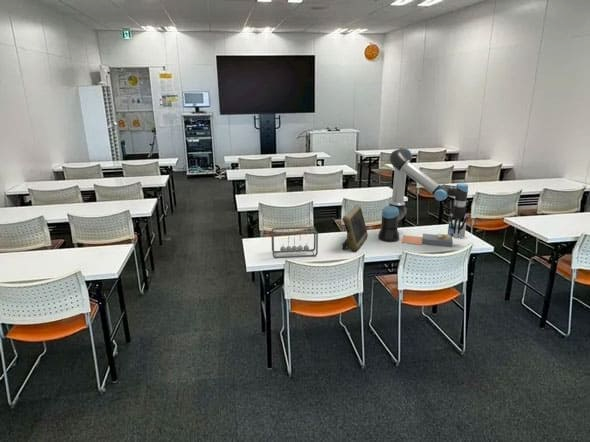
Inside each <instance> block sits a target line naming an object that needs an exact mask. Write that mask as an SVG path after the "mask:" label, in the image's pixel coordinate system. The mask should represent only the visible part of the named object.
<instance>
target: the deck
mask: <svg viewBox="0 0 590 442" xmlns="http://www.w3.org/2000/svg"><path fill="white" fill-rule="evenodd" d="M437 235H438V234H432V233H422V245H426V246H437V247H445V248H453V242H454V241H453V237H452V236H450V240H443V239H437Z"/></svg>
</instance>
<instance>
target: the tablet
mask: <svg viewBox="0 0 590 442" xmlns="http://www.w3.org/2000/svg"><path fill="white" fill-rule="evenodd" d="M342 222H343V224H344V228H345V230H346V239H345V240H344V242H343V243H342V244H341V245H342V248H341V249H342V250H343V251H346V250H347V248H349V250H350V252H352V253H356V252H358V251H359V250H360V249H361V247H362V246H363V244H364V243H365V241H366V240H367V238H368V235H369V234H368V230H367V225H366V222H365V217H364V213H363V210H362V207H361V206H360V205H359V204H355V205H354V206H353V208H352V209H351V210H350V211H349V212H348V213H346V214H345V215H344V216H343V217H342Z"/></svg>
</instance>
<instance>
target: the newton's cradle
mask: <svg viewBox="0 0 590 442" xmlns="http://www.w3.org/2000/svg"><path fill="white" fill-rule="evenodd" d="M309 229H310V230H309ZM311 229H312V230H311ZM285 230H286V231H285ZM290 230H294V231H290ZM295 230H299V231H295ZM301 230H302V231H301ZM277 231H278V232H277ZM281 231H282V232H281ZM270 233H271V252H272V257H273V258H274V259H287V258H290V259H291V258H306V257H316V256H317V255H318V252H319V249H318V248H319V247H318V246H319V233H318V231H317V230H316V227H315V226H294V227H293V226H291V227H288V226H287V227H273V228H272V229H271V231H270ZM296 234H299V240H302V239H301V237H302V236H301V235H302V234H313V248H311V249H310V247H309V245H307V244H305V245H298V246H296V245H295V244H296V243H295V242H296V238H293V242H294V243H293V244H294V245H292V247H291V246H290V245H288V246H286V247H285V246H284V245H282V246H280V250H275V235H288V239H287V240H288V244H290V235H296ZM314 251H315V254H314ZM297 252H299V253H300V252H312V254H302V255H300V254H299V255H282V256H281V255H279V256H277V254H276V253H297Z"/></svg>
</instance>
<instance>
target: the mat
mask: <svg viewBox="0 0 590 442" xmlns="http://www.w3.org/2000/svg"><path fill="white" fill-rule="evenodd" d="M422 238H423V236H414V235H407V234H406V235H402V241H401V244H405V243H407V245H418V246H423V244H422Z"/></svg>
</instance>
